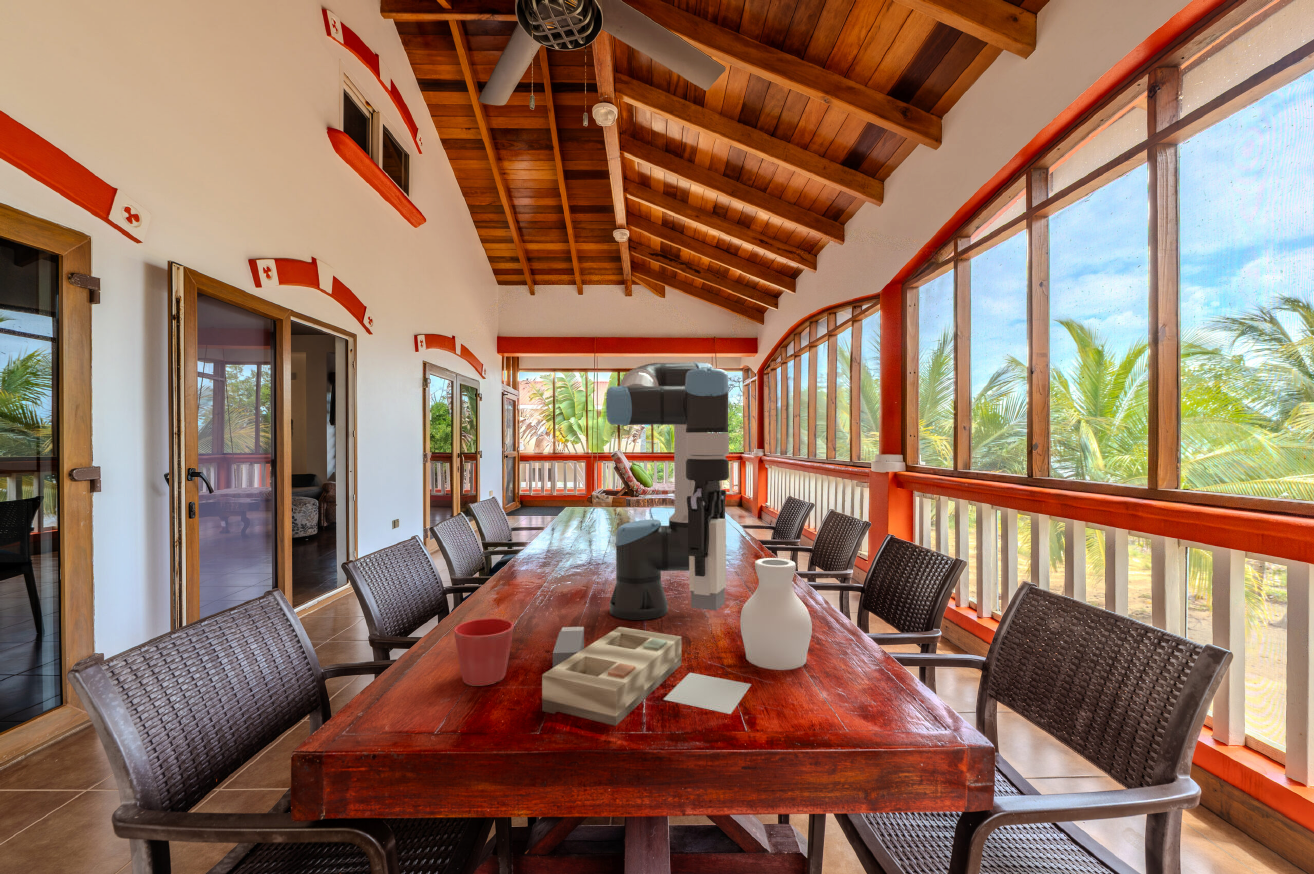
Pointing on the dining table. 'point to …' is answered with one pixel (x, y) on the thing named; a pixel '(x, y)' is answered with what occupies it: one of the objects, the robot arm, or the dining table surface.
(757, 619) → the vase
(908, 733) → the dining table surface
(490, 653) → the flower pot
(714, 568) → the plug
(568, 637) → the plug
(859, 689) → the dining table surface
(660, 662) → the socket box
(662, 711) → the dining table surface
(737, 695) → the mat
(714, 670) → the dining table surface
